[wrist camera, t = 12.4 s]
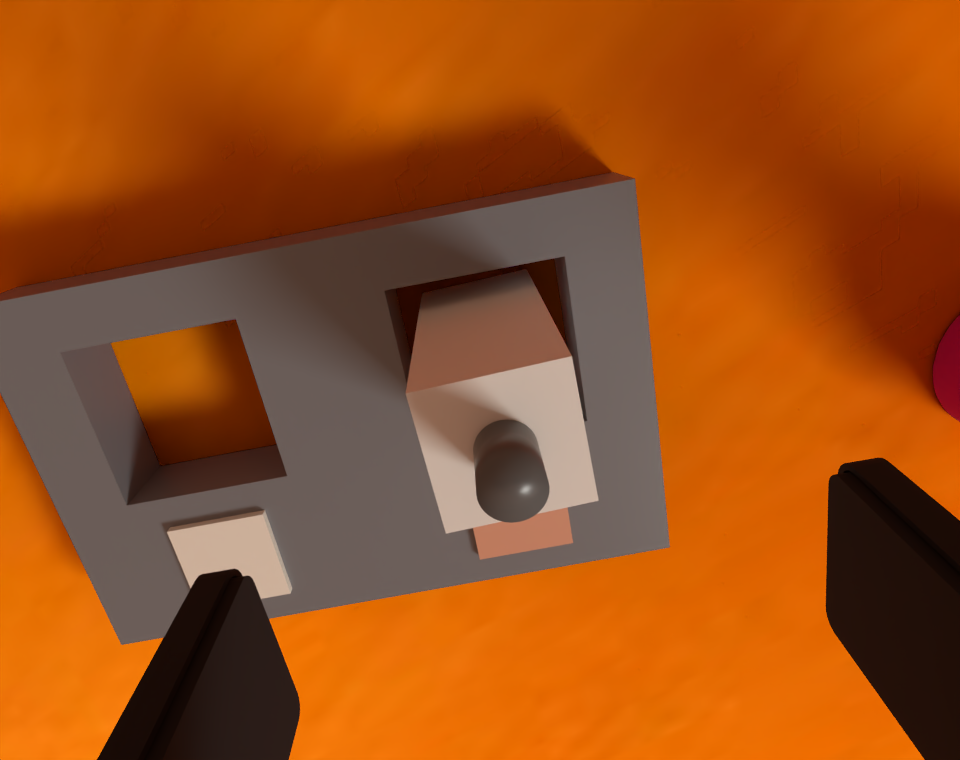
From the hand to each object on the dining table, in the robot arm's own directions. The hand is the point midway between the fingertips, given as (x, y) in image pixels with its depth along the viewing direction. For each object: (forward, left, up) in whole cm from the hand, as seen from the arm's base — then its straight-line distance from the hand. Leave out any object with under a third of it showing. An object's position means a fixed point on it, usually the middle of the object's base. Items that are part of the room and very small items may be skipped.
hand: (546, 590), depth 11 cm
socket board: (+3, -6, -16) cm, 17 cm away
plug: (0, 0, -16) cm, 16 cm away
